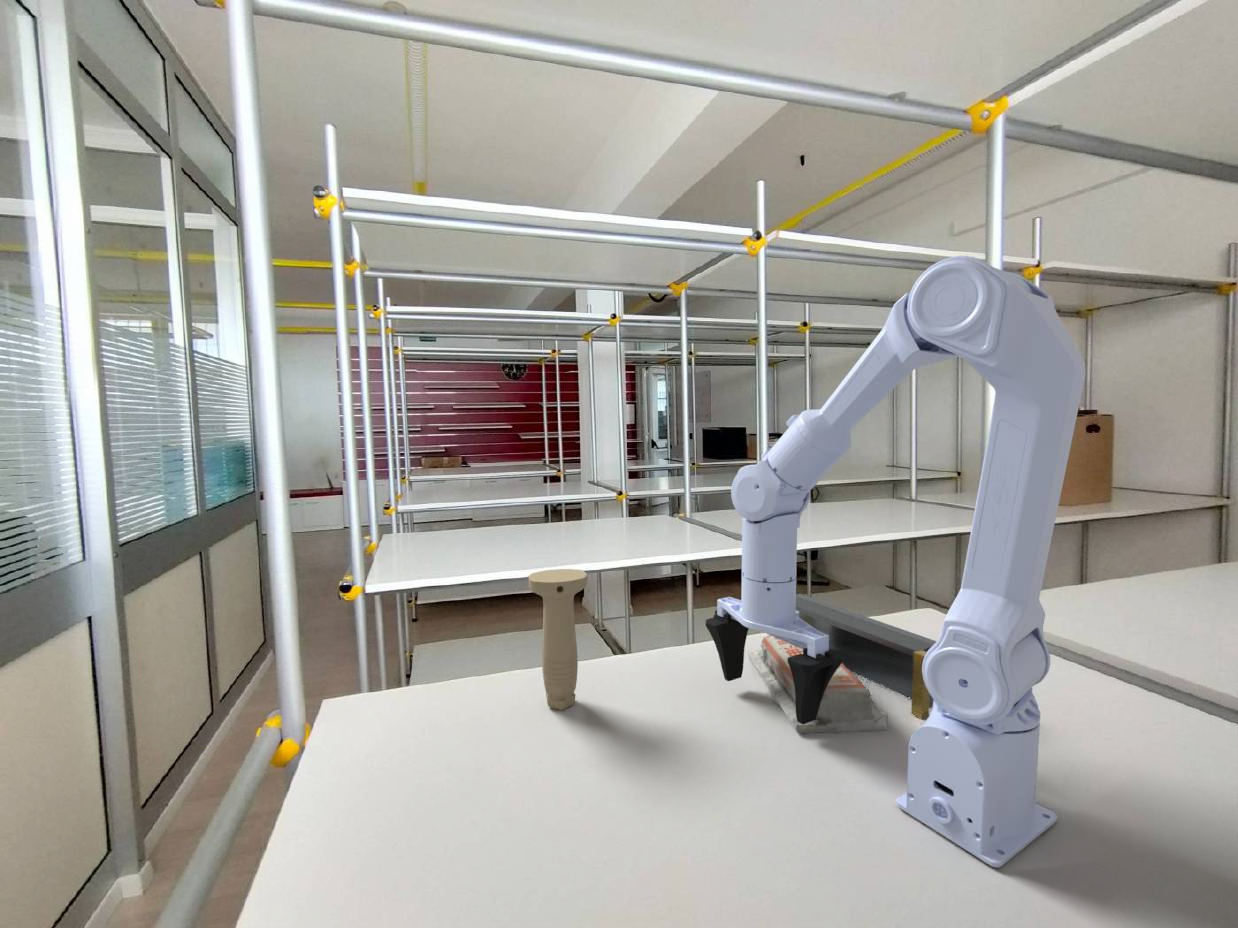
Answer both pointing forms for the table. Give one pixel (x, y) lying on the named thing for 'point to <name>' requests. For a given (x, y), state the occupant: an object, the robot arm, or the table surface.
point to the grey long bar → (873, 649)
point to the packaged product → (840, 702)
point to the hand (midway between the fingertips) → (766, 697)
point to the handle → (559, 632)
